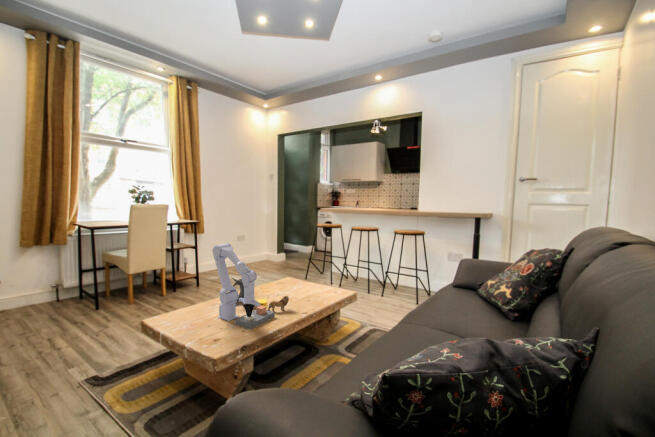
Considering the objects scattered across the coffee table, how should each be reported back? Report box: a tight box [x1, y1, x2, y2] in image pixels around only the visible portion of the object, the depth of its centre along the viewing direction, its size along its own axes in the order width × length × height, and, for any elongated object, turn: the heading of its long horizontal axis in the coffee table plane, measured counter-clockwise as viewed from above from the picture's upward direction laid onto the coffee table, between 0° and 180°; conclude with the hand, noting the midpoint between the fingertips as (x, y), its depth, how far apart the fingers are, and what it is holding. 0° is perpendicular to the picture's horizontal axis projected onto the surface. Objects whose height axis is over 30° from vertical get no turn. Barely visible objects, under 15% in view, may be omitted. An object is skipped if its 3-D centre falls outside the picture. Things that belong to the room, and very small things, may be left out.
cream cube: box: [243, 315, 254, 321], centre depth 172 cm, size 4×4×4 cm
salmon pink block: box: [255, 305, 267, 315], centre depth 181 cm, size 4×4×4 cm
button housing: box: [234, 309, 276, 330], centre depth 177 cm, size 12×20×3 cm, turn 150°
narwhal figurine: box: [231, 277, 244, 307], centre depth 205 cm, size 14×15×18 cm
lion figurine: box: [267, 295, 290, 313], centre depth 192 cm, size 15×5×9 cm, turn 121°
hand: (249, 316), depth 172 cm, fingers closed, pressing on cream cube
